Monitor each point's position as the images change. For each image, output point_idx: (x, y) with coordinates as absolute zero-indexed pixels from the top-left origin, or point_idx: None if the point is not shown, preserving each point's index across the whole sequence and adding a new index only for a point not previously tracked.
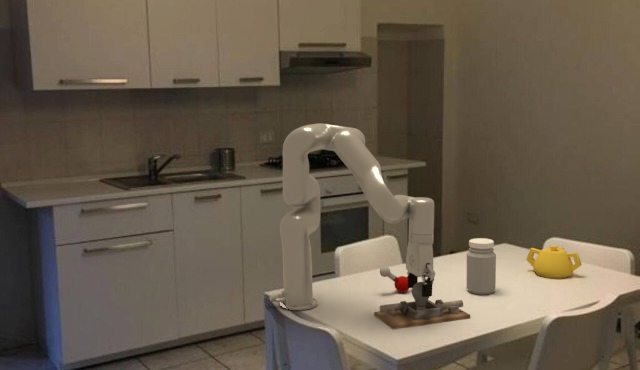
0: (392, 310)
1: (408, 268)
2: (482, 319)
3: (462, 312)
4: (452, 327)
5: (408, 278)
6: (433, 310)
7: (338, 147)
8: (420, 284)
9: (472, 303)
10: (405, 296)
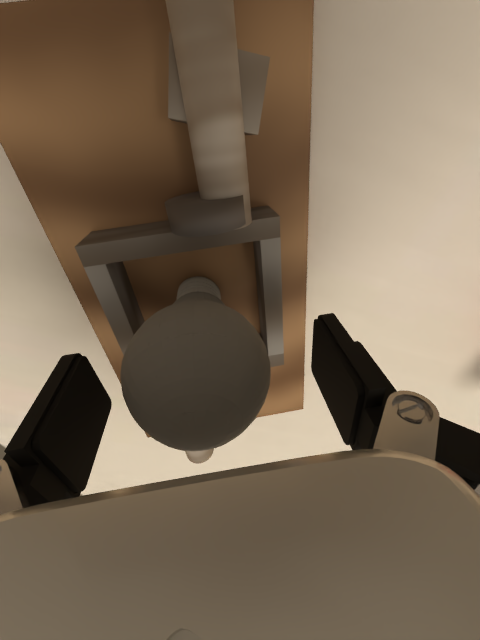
0: (168, 97)
1: (338, 517)
2: (132, 450)
3: None
4: (38, 363)
5: (354, 369)
6: (124, 349)
7: None
8: (161, 416)
9: (285, 452)
10: (472, 297)
